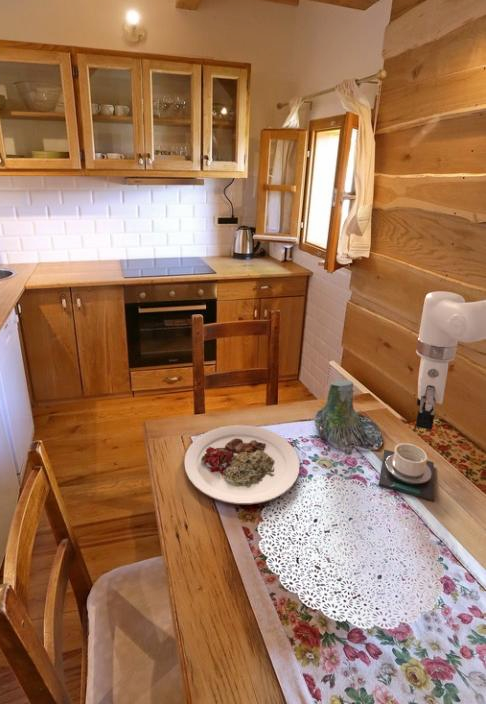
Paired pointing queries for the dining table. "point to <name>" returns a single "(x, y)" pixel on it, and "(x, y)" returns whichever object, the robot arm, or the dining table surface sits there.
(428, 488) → the scale
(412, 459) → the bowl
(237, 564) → the dining table surface
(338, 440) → the tree stump
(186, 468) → the plated food
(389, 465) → the scale pan
